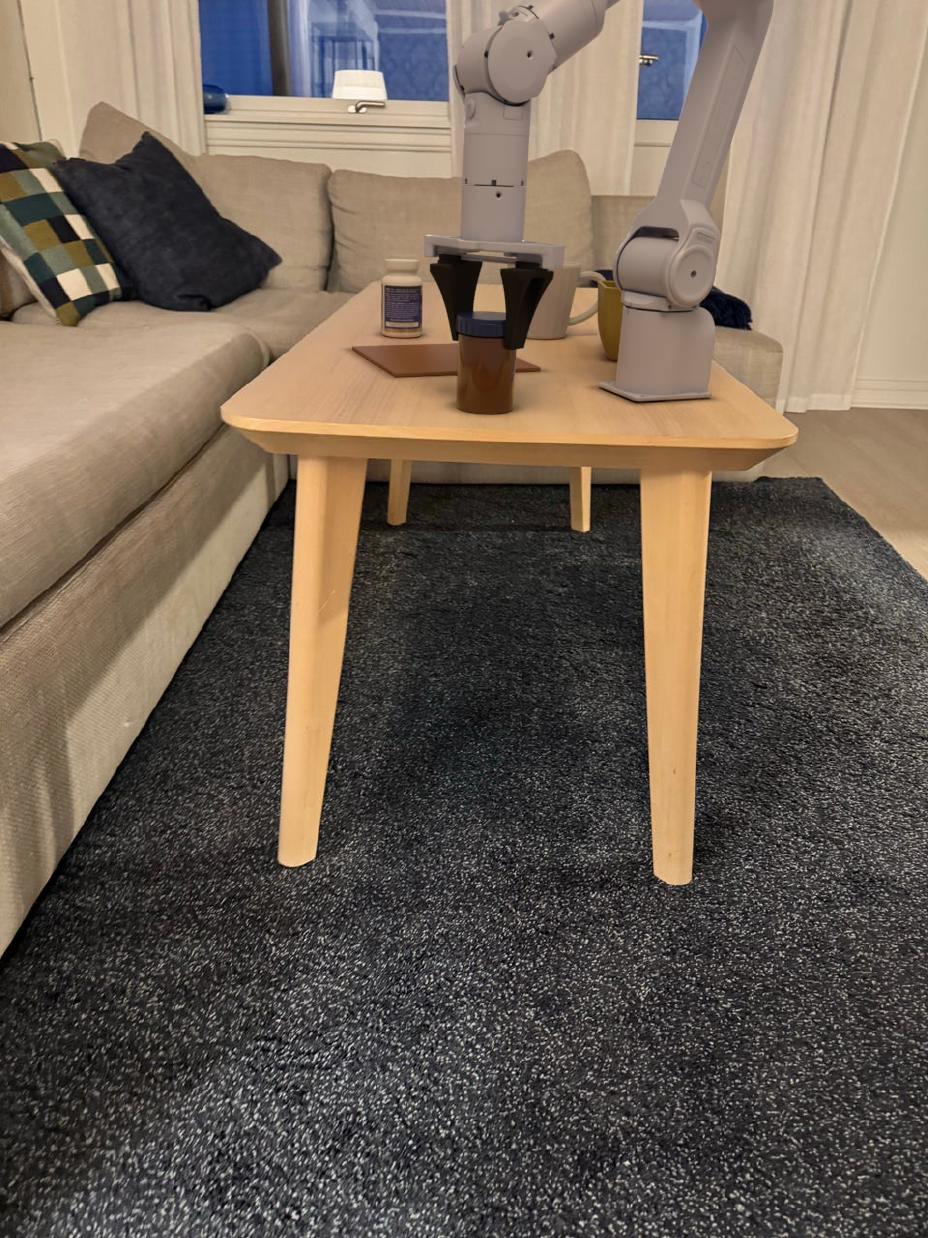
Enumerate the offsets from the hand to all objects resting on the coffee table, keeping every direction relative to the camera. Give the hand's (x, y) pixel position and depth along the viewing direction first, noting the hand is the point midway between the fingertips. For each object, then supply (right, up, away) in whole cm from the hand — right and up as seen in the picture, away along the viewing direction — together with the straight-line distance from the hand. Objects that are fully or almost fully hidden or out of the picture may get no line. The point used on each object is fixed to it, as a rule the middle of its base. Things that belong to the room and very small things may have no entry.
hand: (487, 344), depth 86 cm
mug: (+11, +15, +46) cm, 49 cm away
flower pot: (+19, +7, +30) cm, 36 cm away
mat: (-5, +6, +25) cm, 26 cm away
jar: (0, -5, +3) cm, 6 cm away
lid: (0, +2, -1) cm, 2 cm away
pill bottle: (-11, +14, +41) cm, 45 cm away
